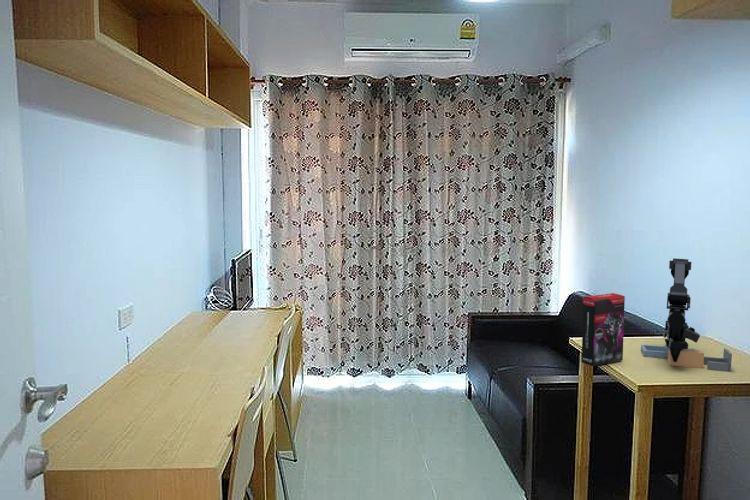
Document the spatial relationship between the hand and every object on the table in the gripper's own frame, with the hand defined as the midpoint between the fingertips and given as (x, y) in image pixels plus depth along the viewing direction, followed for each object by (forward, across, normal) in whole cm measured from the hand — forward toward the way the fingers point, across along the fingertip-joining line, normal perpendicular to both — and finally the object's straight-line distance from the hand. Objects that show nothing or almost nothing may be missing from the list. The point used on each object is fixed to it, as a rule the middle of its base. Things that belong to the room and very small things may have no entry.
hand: (673, 360), depth 242 cm
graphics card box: (+2, -7, +28) cm, 29 cm away
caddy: (+2, 0, -4) cm, 4 cm away
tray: (+2, +12, +2) cm, 12 cm away
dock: (+2, 0, -15) cm, 15 cm away
